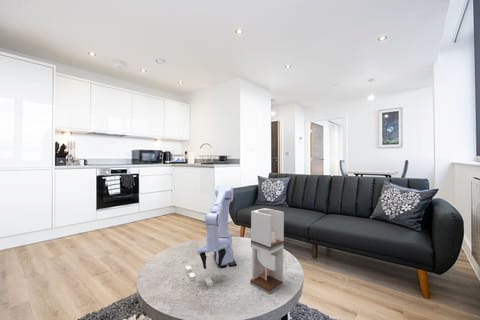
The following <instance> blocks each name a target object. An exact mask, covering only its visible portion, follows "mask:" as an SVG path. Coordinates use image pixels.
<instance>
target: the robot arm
mask: <svg viewBox="0 0 480 320" xmlns="http://www.w3.org/2000/svg"><path fill="white" fill-rule="evenodd" d="M214 194H215V197H216V198H215V202H213V203H212V204H211V207H210V210H209V212H208V213H206V214H205V218H204V223H205V229H206V246H203V247H200V248H197V249H196V254H197V255H198V256H200V259H201V262H202V267H203V269H204V270H206V269H207V257H208V256H207V254H206V253H211V252H213V253H215V254H216V255H215V259H216V260H215V261H216V264H218V265H219V267H221V266H222V265H227V264H230V263H234V250H233V247H232V246H233V239H232V238H233V234H232V233H231V232H230V231H229V230H228V229H229V226H228V225H229V213H230V212H229V211H230V203H231V202H233V200H234V187H233V186H218V185H217V186H216V187H215V191H214Z"/></svg>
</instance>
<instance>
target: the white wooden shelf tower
mask: <svg viewBox="0 0 480 320" xmlns="http://www.w3.org/2000/svg"><path fill="white" fill-rule="evenodd" d="M250 213H251V214H250V217H251V218H250V220H251V221H250V248H251V250H252V252H251V253H252V254H251V255H252V256H251V258H252V259H251V279H250V280H249V281H250V285H251V286H253V287H254V288H256V289H258V290H260V291H262V292H263V293H266V294H267V295H270V294H272V293H274V292H275V291H276V290H278V289H280V288H281V287H283V286H284V246H285V245H284V241H285V239H284V237H285V235H284V232H285V230H284V228H285V222H284V221H285V212H284V211H281V210H276V209H272V208H264V207H263V208H260V209H256V210H251V212H250ZM282 285H283V286H282Z"/></svg>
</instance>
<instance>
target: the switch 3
mask: <svg viewBox="0 0 480 320" xmlns="http://www.w3.org/2000/svg"><path fill="white" fill-rule="evenodd" d="M204 283H205V285H206V286H207V288H208V287H213V285H214V282H213V280H212V278H211V277H206V278H205V280H204Z"/></svg>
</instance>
